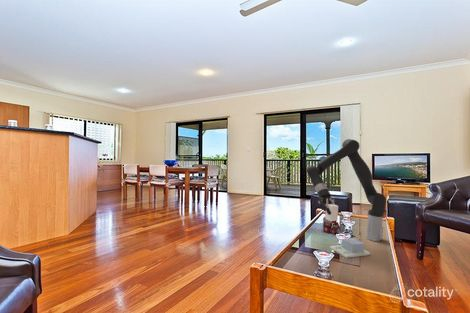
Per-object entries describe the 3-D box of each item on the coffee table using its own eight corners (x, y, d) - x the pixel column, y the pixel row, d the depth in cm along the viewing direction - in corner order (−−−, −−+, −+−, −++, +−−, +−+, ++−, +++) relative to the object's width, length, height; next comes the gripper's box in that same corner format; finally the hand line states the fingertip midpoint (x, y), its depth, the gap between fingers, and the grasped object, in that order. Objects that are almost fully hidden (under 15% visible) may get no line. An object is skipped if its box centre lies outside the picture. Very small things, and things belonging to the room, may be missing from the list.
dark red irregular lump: (338, 235, 180) (339, 221, 179) (320, 231, 187) (321, 217, 187) (340, 233, 185) (341, 219, 185) (323, 229, 193) (324, 216, 192)
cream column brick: (331, 218, 162) (332, 203, 161) (337, 220, 157) (338, 205, 156) (325, 218, 160) (326, 204, 159) (330, 221, 155) (331, 206, 155)
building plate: (352, 245, 163) (352, 236, 162) (370, 254, 149) (371, 244, 149) (329, 247, 157) (330, 238, 156) (346, 257, 144) (347, 247, 143)
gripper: (316, 188, 162) (327, 211, 151) (334, 188, 167) (346, 210, 156) (310, 194, 167) (321, 217, 157) (328, 194, 172) (339, 216, 161)
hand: (333, 214), depth 156 cm, fingers closed on cream column brick, 5 cm apart
